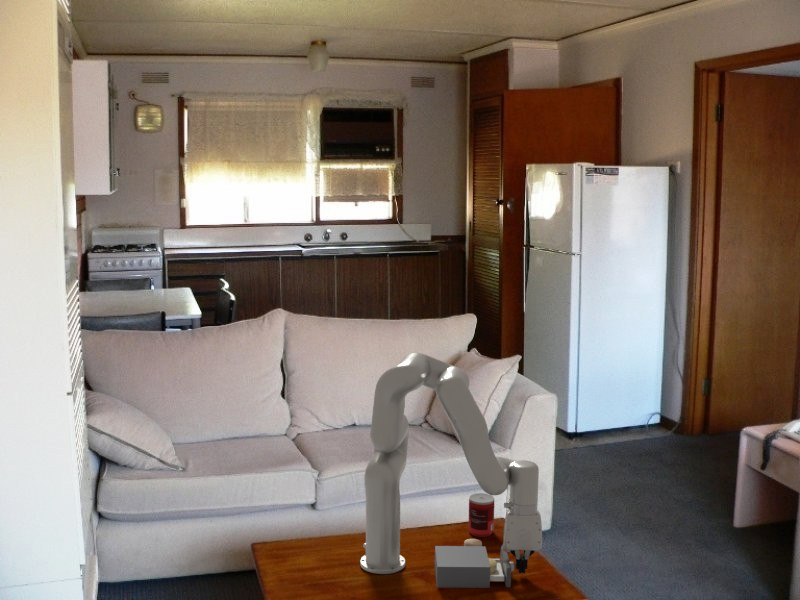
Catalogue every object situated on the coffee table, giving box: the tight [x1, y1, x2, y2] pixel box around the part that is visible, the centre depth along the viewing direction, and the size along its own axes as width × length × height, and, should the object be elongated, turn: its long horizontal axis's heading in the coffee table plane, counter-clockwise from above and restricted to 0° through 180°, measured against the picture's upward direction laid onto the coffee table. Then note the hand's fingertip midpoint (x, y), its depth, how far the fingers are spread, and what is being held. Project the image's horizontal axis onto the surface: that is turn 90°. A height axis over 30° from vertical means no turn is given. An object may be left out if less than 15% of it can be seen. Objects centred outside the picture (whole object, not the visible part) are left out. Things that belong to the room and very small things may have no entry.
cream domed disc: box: [488, 557, 497, 574], centre depth 253 cm, size 7×7×2 cm
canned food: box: [468, 492, 495, 538], centre depth 282 cm, size 8×8×11 cm
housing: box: [434, 545, 491, 589], centre depth 253 cm, size 14×13×6 cm
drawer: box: [490, 545, 515, 588], centre depth 253 cm, size 16×14×5 cm
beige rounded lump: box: [463, 538, 483, 546], centre depth 265 cm, size 5×5×4 cm
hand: (521, 571), depth 253 cm, fingers closed
